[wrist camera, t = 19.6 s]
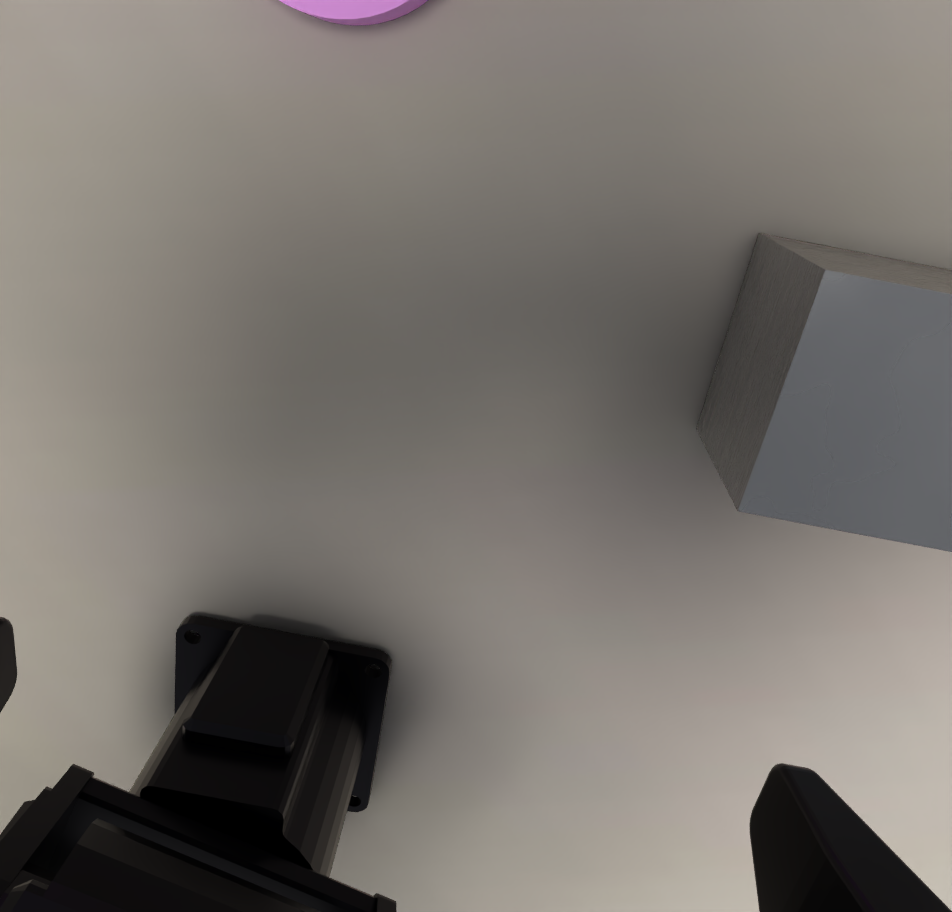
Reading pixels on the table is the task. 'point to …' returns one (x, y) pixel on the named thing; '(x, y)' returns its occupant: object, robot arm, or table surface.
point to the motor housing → (837, 393)
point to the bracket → (355, 10)
